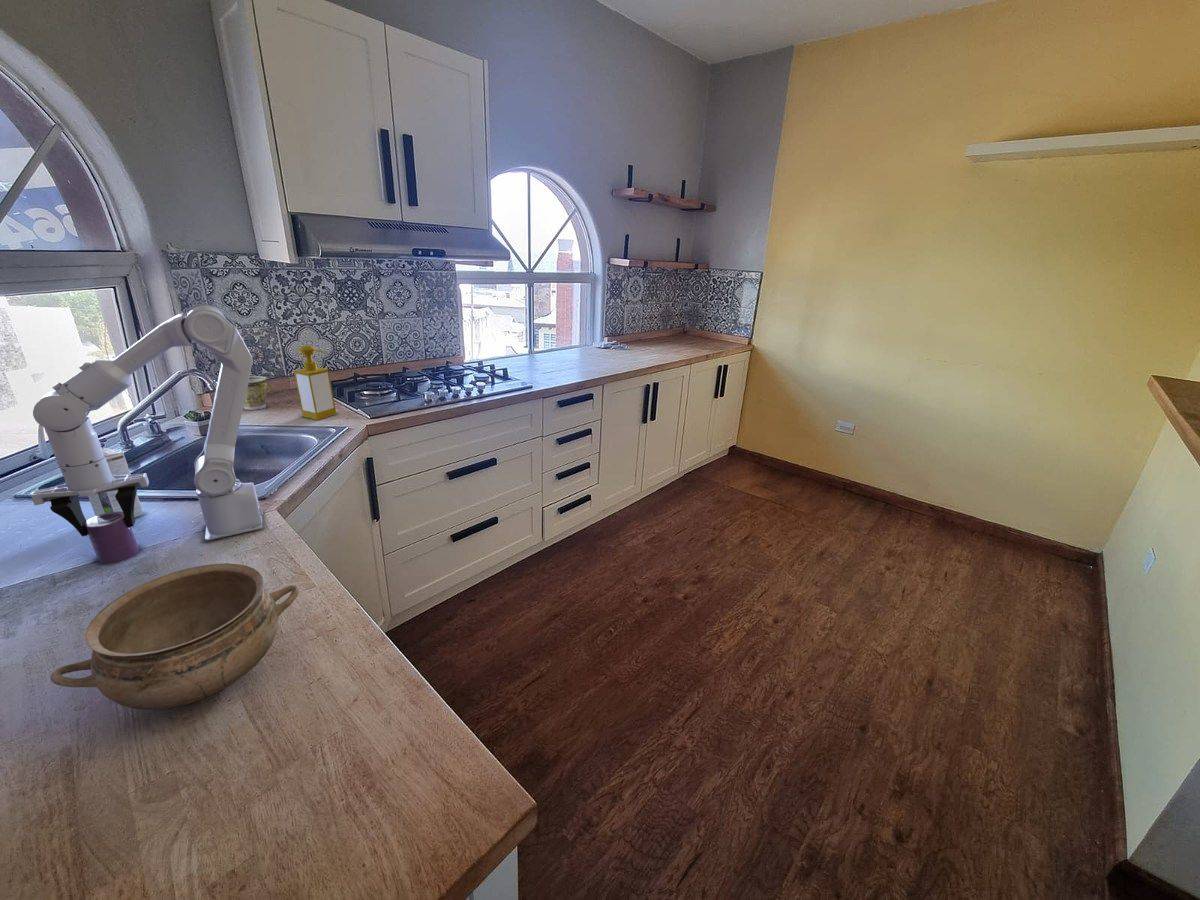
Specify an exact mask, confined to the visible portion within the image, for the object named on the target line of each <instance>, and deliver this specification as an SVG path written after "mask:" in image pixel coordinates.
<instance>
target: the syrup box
mask: <svg viewBox="0 0 1200 900" xmlns="http://www.w3.org/2000/svg"><path fill="white" fill-rule="evenodd" d="M102 450H103V453H104V455H105V458H106V461H107V463H108V466H109V469H110V471H111V474H112V476H117V475H132V474H131V472H130V469H129V465H128V462H127V460H126V457H125V453H124V452H123V451H119V450H116V449H115V450H114V449H112V448H107V447H106V448H102ZM117 492H118V490H115V491H109V492H103V493H97V494H94V495H89V496H87V497H88V500H89V503H90V505H91V508H92V510H93V513H94V515H95V516H97V515H101V514H104V513H109V512H123V511H122V509H121V507H120V505H119V503H118V501H117V500H116V498H115V496H116V494H117ZM143 515H144V510H143V508H142V504H141V501H140V499H139V495H138V491H137V492H136V497H135V503H134V519H135V518H138V517H140V516H143ZM95 516H94V517H95Z"/></svg>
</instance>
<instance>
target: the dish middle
mask: <svg viewBox="0 0 1200 900" xmlns="http://www.w3.org/2000/svg"><path fill="white" fill-rule="evenodd" d="M134 538H135V539H136V537H135V534H134V532H133V528H132V527H130V528H129V529H128V530H127V531H125V532H123V533H121V534H119V535H116V536H113V537H109V538H104V539H91V538H89V537H88V539H89V541H90V544H91V547H92V549H93V551H94V550H96V551H109V550H114V549H117V548H120V547H123V546H125V545H127V544H129V543H131V542H132V541H133V540H134Z"/></svg>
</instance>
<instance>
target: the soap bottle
mask: <svg viewBox="0 0 1200 900" xmlns="http://www.w3.org/2000/svg"><path fill="white" fill-rule="evenodd" d="M297 351H298V352H300V354H301V356H305V361H304V362H303V367H304V368H300V369H294V370H293V376H294V379H295V385H296V389H297V390H296V391H297V394H298V400H299V405H300V409H301V415H302V417H303V418H307V419H312V420H316V421H319V420H322V419H326V418H329V417H331V416H335V415H337V409H336V403H335V399H334V392H333V387H332V381H331V377H330V376H331V375H330V371H329V368H324V367H319V366H318V365H317V361H315V360H313V358H312V356H313V355H316V353H315V352H319V353H322V354H324V355H328V353H327V352H326V351H323V350H321V349H317V348H316V347H315V346H313V345H308V344H307V345H303V346H300V347H298V349H297Z"/></svg>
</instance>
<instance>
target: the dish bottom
mask: <svg viewBox="0 0 1200 900" xmlns="http://www.w3.org/2000/svg"><path fill="white" fill-rule="evenodd" d="M139 550H140V547H139V545H138V542H137V540H136V537H135V538H134V540H133V541H132V542H131V543H129V544H127V545H125V546H123V547H120V548H117V549H114V550H109V551H96V550H94V549H93V551H94V553H95V554H94V555H95V557H96V558H97V560H98V563H101V564H110V563H116V562H121V561H123V560H126V559H129V558H131V557H132V556H134V555H136V554H137V553H138V552H139Z"/></svg>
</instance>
